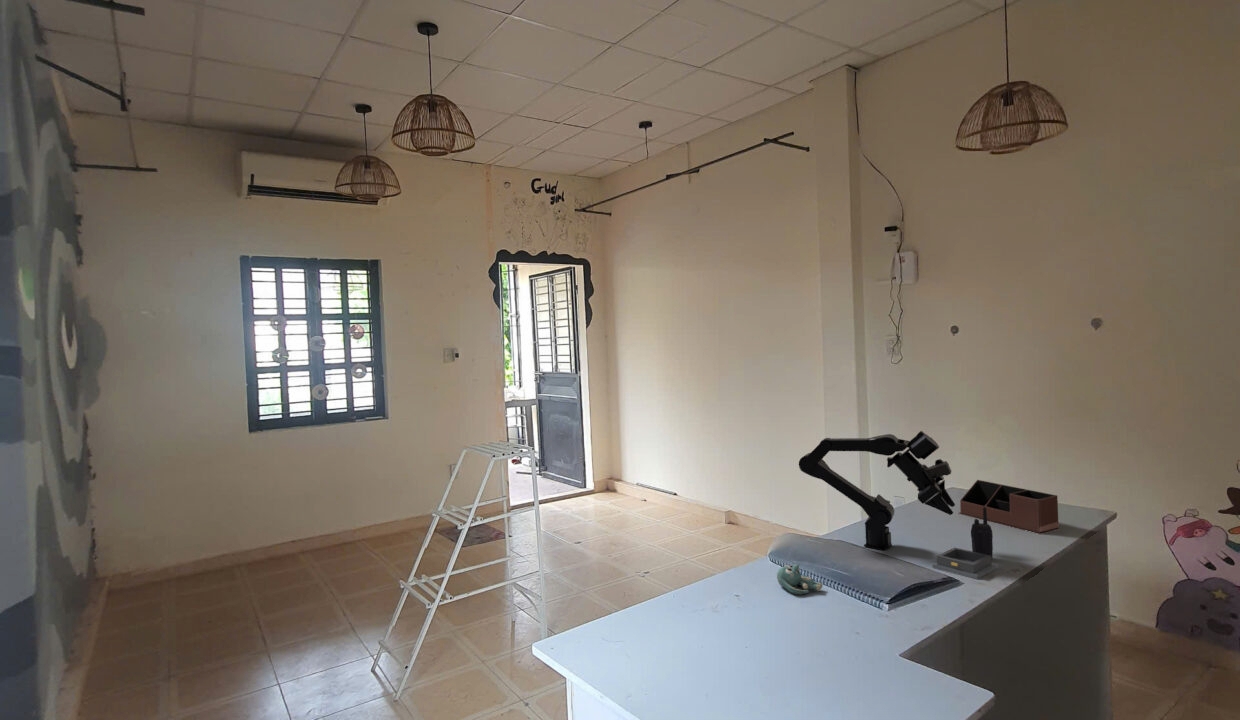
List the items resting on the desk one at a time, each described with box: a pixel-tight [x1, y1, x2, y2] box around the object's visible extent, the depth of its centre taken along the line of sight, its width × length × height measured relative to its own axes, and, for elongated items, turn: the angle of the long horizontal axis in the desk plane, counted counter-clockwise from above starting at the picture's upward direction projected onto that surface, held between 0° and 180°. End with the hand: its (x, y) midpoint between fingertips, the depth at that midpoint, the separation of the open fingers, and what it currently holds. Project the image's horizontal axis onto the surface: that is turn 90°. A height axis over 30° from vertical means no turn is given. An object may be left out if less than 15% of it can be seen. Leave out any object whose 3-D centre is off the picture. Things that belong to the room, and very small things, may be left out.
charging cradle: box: [932, 547, 997, 580], centre depth 177 cm, size 12×11×4 cm
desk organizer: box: [958, 479, 1061, 535], centre depth 216 cm, size 10×29×11 cm, turn 24°
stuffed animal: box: [776, 563, 823, 595], centre depth 169 cm, size 11×7×12 cm
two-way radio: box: [970, 507, 994, 560], centre depth 183 cm, size 6×4×15 cm
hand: (953, 509), depth 187 cm, fingers open, 9 cm apart
